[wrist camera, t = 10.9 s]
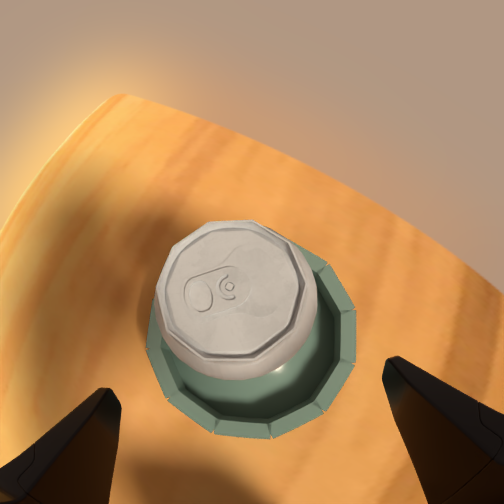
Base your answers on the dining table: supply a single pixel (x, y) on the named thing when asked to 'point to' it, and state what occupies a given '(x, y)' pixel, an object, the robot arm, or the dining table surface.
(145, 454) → the dining table surface
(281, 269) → the beer can
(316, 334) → the bowl
